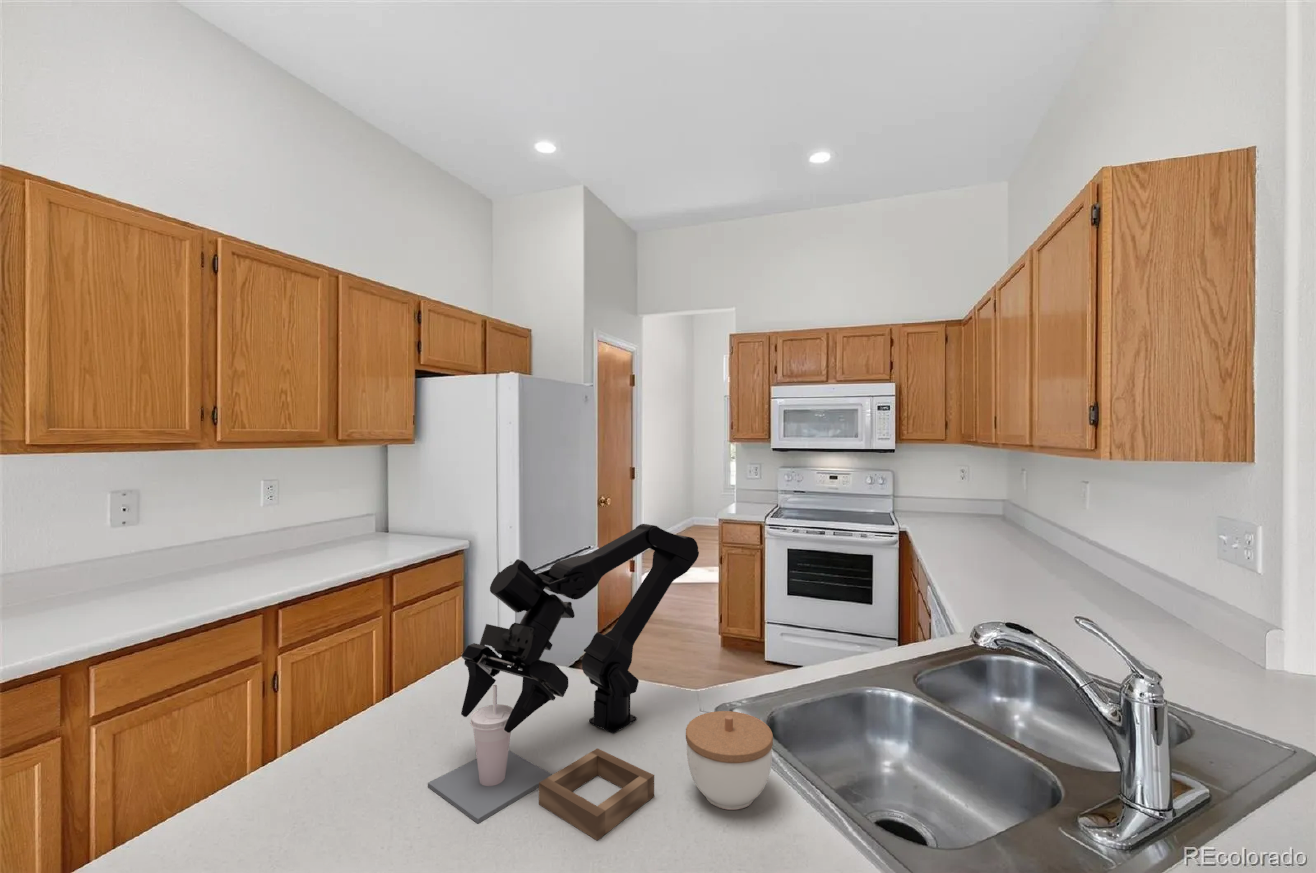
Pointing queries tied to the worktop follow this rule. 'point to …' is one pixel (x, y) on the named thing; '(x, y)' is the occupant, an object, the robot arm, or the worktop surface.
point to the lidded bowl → (729, 757)
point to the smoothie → (491, 741)
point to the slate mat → (488, 787)
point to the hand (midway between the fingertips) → (484, 723)
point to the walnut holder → (608, 813)
